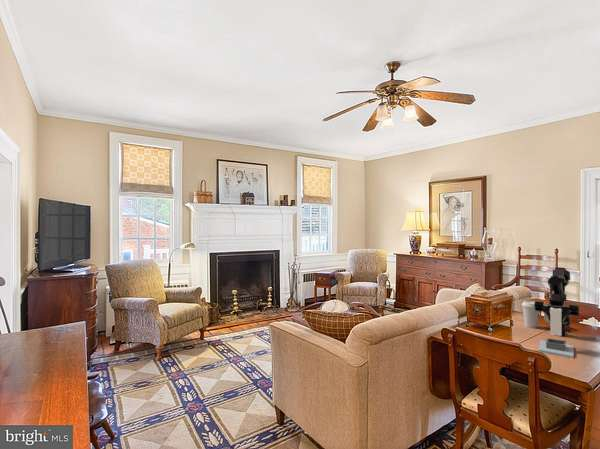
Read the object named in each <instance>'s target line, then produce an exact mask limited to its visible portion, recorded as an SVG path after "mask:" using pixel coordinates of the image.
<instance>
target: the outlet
mask: <svg viewBox="0 0 600 449" xmlns="http://www.w3.org/2000/svg"><path fill="white" fill-rule="evenodd" d="M538 351H541V352H540V353H544V354H549V355H556V356H561V357H567V358H571V359H574V358H575V357H574V354H575V353H574V345H573V344H567V343H566V340H563V339H562V340H561V339H555V338H550V337H546V340H543V339H540V340H539V345H538V349H537V352H538Z"/></svg>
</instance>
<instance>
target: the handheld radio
mask: <svg viewBox="0 0 600 449" xmlns="http://www.w3.org/2000/svg"><path fill="white" fill-rule="evenodd" d="M543 316H544V317H543V318H544V322H547V323H549V324H550V321H549V319H548V317H547V315H546V314H545V313H544V314H543ZM566 331H567V332H571V331H572V330H571V329H570V328H569V327H566Z"/></svg>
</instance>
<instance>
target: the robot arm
mask: <svg viewBox="0 0 600 449" xmlns="http://www.w3.org/2000/svg"><path fill="white" fill-rule="evenodd" d="M569 281H571V272H570V271H569V270H567V269H566V268H565V267H559V266H557V267H554V270H553V269H552V275H551V276H550V277H549V278H548V279H547V285H548V287H549V298H548V299H549V301H548V303H545V302H544V301H543V300H541V301H540V300H535V301H534V302H535V304H534V305H535V310H536V311H539V312H542V313H545V314H546V315H547V317H548V319H549V321H550V308H560V309H561V324H562V334H561V336H560V337H567V335H568V333H567V332H566V331H567V330H566V328H567V326H571V318H570V316H577V317H578V316H579V315H580V307H579V305H577V304H569V305H568V306H565V302H567V293H566V287H567V286H568V285H569V283H570V282H569ZM565 293H566V294H565Z"/></svg>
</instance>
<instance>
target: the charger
mask: <svg viewBox="0 0 600 449" xmlns="http://www.w3.org/2000/svg"><path fill="white" fill-rule="evenodd" d="M549 311H550V323H549V326H550V328H549V329H550V335H553V336H558V337H559V336H560V337H562V336H561V334H562V324H561V309H560V308H550V309H549Z"/></svg>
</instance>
